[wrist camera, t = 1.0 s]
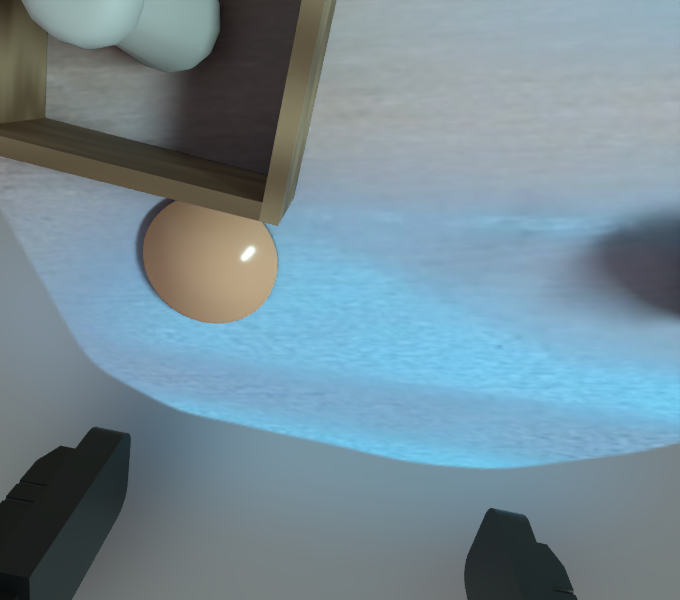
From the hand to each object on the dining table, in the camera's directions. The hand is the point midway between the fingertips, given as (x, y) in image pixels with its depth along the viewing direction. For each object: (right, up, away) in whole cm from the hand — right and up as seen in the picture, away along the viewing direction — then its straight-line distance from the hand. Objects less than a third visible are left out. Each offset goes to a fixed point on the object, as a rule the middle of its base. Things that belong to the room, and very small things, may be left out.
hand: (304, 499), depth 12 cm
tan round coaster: (-8, +7, +24) cm, 26 cm away
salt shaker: (-8, +21, +19) cm, 29 cm away
